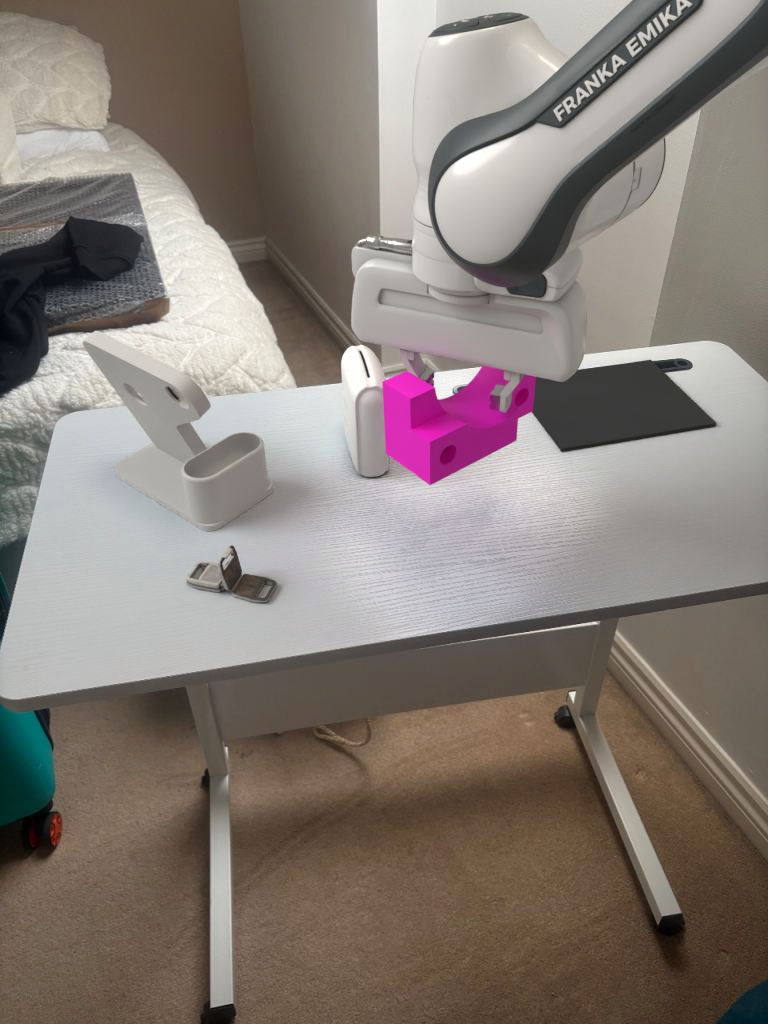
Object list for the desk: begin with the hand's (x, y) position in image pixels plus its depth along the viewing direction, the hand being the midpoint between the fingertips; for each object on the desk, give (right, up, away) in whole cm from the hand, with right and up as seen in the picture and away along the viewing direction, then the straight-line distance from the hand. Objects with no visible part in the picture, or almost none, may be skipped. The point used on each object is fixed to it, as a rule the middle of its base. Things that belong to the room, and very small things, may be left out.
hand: (461, 399), depth 74 cm
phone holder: (-28, -7, +18) cm, 34 cm away
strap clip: (-22, -17, +5) cm, 28 cm away
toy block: (+1, -3, +2) cm, 4 cm away
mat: (+21, +3, +29) cm, 36 cm away
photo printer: (-9, -3, +22) cm, 24 cm away
